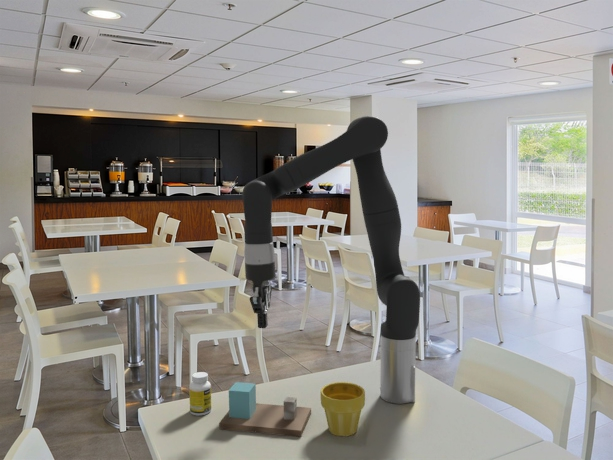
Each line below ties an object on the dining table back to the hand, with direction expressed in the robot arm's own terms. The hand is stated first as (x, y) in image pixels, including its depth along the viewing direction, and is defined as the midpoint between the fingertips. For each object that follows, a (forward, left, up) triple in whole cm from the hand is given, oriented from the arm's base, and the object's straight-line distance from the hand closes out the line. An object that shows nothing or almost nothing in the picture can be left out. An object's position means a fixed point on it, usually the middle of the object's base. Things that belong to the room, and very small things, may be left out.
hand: (262, 327), depth 138 cm
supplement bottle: (+15, +5, -22) cm, 27 cm away
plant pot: (-22, +8, -22) cm, 32 cm away
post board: (-3, +7, -21) cm, 23 cm away
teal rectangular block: (+3, +7, -20) cm, 21 cm away
